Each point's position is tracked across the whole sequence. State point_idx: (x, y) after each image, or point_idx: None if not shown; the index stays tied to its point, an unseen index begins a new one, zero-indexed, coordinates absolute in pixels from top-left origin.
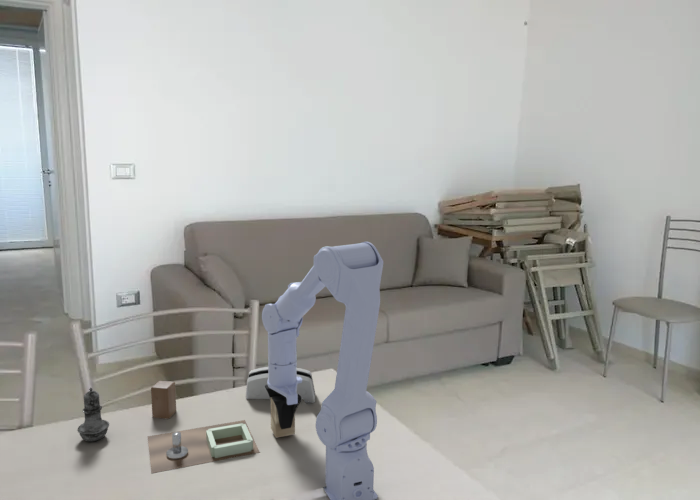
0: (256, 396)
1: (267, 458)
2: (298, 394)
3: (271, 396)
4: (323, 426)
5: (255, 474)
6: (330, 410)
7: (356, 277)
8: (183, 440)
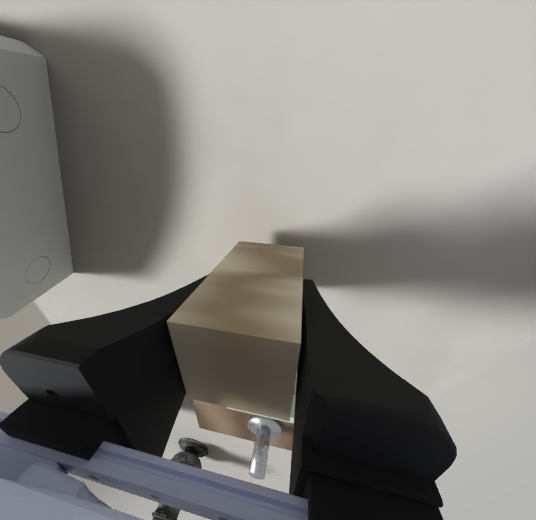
0: (54, 261)
1: (343, 320)
2: (330, 411)
3: (181, 394)
4: None
5: (390, 358)
6: None
7: None
8: (225, 407)
